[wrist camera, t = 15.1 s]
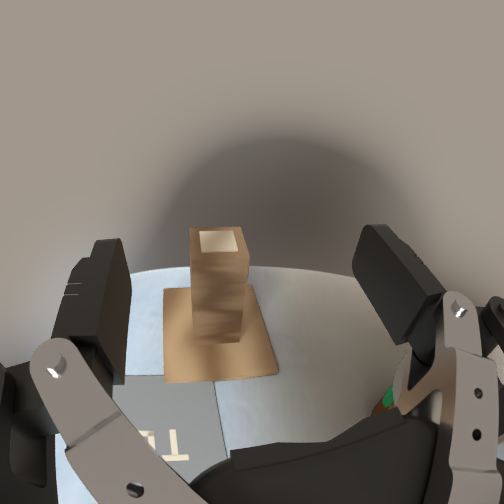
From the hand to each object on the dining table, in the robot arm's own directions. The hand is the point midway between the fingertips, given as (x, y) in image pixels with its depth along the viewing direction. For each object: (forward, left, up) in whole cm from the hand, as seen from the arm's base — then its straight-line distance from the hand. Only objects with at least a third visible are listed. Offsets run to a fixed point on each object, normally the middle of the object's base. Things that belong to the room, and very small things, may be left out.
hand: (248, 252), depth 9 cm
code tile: (+6, -1, -22) cm, 23 cm away
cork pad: (-1, -15, -22) cm, 27 cm away
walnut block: (-1, -15, -22) cm, 26 cm away
